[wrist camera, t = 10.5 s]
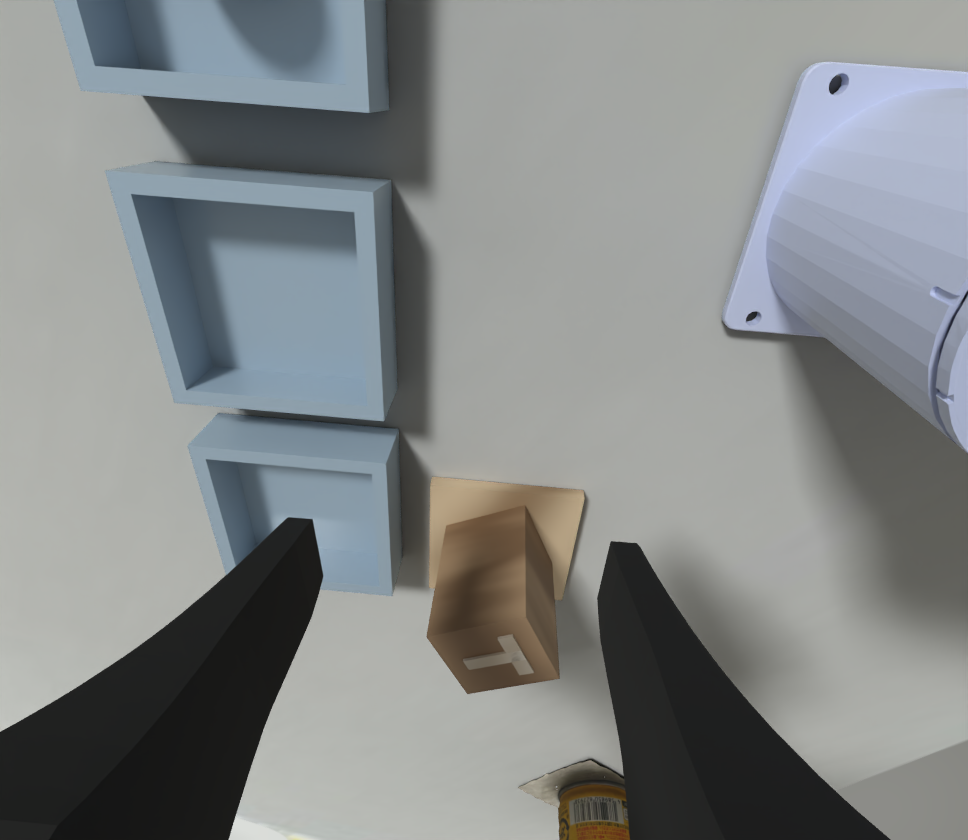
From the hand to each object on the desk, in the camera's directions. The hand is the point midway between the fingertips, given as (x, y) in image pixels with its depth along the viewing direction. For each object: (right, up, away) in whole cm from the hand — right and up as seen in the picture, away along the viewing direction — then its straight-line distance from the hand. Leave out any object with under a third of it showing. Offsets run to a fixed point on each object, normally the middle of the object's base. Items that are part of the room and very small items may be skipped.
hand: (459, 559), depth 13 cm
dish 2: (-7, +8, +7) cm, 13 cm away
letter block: (+1, -3, +13) cm, 13 cm away
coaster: (+1, -2, +13) cm, 13 cm away
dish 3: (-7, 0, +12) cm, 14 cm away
